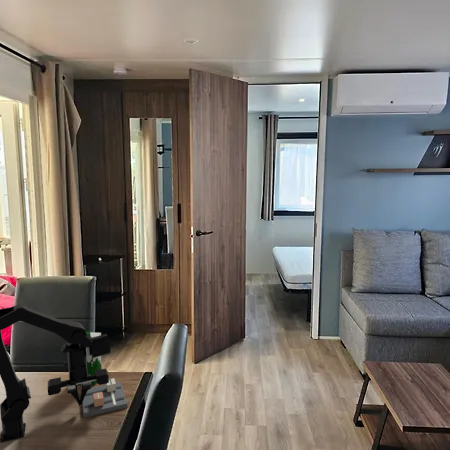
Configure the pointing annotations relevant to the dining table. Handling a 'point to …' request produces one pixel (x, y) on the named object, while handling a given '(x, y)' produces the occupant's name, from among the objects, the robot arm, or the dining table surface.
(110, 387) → the fader ivory
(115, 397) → the console
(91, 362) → the milk carton
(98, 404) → the fader terracotta
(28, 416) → the dining table surface
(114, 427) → the dining table surface
